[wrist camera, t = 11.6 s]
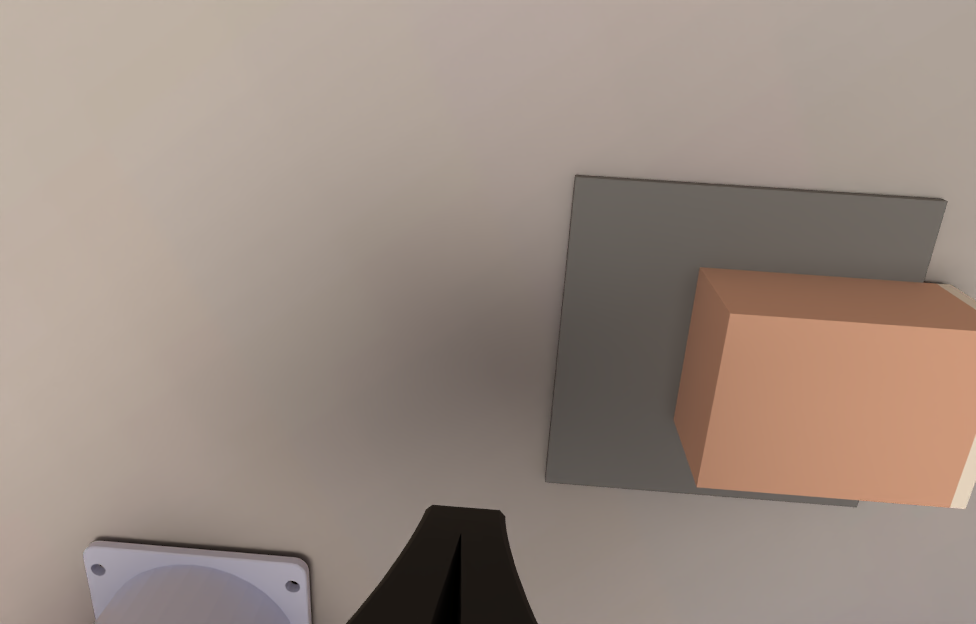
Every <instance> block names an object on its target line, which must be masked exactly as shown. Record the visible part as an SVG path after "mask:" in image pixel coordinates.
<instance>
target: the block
mask: <svg viewBox="0 0 976 624" xmlns="http://www.w3.org/2000/svg"><path fill="white" fill-rule="evenodd" d="M674 423H675V426H676V429H677V432H678V434H679V437H680V440H681V443H682V446H683V449H684V452H685V455H686V458H687V461H688V464H689V466H690V469H691V472H692V475H693V478H694V481H695V484H696V487H699V488H711V489H724V490H736V491H749V492H761V493H774V494H786V495H799V496H811V497H824V498H836V499H849V500H861V501H874V502H886V503H899V504H911V505H923V506H936V507H948V508H961V509H965V508H966V506H967V503H968V500H969V498H970V495H971V492H972V489H973V487H974V484H975V481H976V301H975V300H974V299H972V298H971V297H969V296H968V295H966V294H965V293H963V292H961V291H960V290H958V289H957V288H955V287H954V286H952V285H949V284H934V283H920V282H905V281H891V280H877V279H862V278H848V277H833V276H819V275H805V274H790V273H776V272H761V271H747V270H733V269H718V268H704V267H700V269H699V275H698V281H697V287H696V292H695V298H694V304H693V310H692V316H691V321H690V327H689V333H688V339H687V345H686V350H685V356H684V362H683V368H682V374H681V379H680V385H679V391H678V397H677V403H676V408H675V414H674Z"/></svg>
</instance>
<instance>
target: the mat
mask: <svg viewBox="0 0 976 624" xmlns="http://www.w3.org/2000/svg"><path fill="white" fill-rule="evenodd" d="M947 202H948V201H945V200H943V199H935V198H920V197H905V196H889V195H874V194H859V193H843V192H828V191H813V190H797V189H782V188H767V187H751V186H736V185H721V184H705V183H690V182H675V181H659V180H644V179H629V178H613V177H598V176H582V175H575V182H574V193H573V203H572V213H571V223H570V233H569V243H568V253H567V263H566V273H565V284H564V294H563V304H562V314H561V324H560V334H559V344H558V354H557V364H556V375H555V385H554V395H553V405H552V415H551V425H550V435H549V445H548V455H547V466H546V476H545V482H548V483H560V484H573V485H585V486H598V487H610V488H623V489H635V490H648V491H660V492H672V493H685V494H697V495H710V496H722V497H735V498H747V499H760V500H772V501H785V502H797V503H809V504H822V505H834V506H847V507H857V505H858V502H859V500H849V499H836V498H824V497H811V496H799V495H786V494H774V493H761V492H749V491H736V490H724V489H711V488H699V487H696V484H695V481H694V478H693V475H692V472H691V469H690V466H689V464H688V461H687V458H686V455H685V452H684V449H683V446H682V443H681V440H680V437H679V434H678V432H677V429H676V426H675V423H674V414H675V408H676V403H677V397H678V391H679V385H680V379H681V374H682V368H683V362H684V356H685V350H686V345H687V339H688V333H689V327H690V321H691V316H692V310H693V304H694V298H695V292H696V287H697V281H698V275H699V269H700V267H704V268H718V269H733V270H747V271H761V272H776V273H790V274H805V275H819V276H833V277H848V278H862V279H877V280H891V281H905V282H920V283H924V279H925V276H926V273H927V269H928V266H929V263H930V259H931V256H932V253H933V249H934V246H935V242H936V239H937V236H938V232H939V229H940V226H941V222H942V219H943V215H944V212H945V209H946V205H947Z"/></svg>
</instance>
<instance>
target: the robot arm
mask: <svg viewBox="0 0 976 624" xmlns="http://www.w3.org/2000/svg"><path fill="white" fill-rule="evenodd" d="M83 558H84V563H85V569H86V574H87V579H88V584H89V589H90V594H91V599H92V604H93V609H94V614H95V619H96V621H95V623H94V624H312V622H311V602H310V582H309V568H308V565H307V564H306V563H305V562H304V561H303V560H301V559H300V558H295V557H286V556H274V555H262V554H250V553H239V552H227V551H215V550H203V549H192V548H180V547H168V546H156V545H145V544H133V543H121V542H109V541H94V542H92V543H90V544H89V545H88V547H87V548H86V549H85V551H84V552H83ZM100 565H102V566H103V567H101V566H100ZM290 581H295V582H297V583H298V584H293V583H292V582H290ZM346 624H538V623H537V621H536V619H535V617H534V615H533V612H532V610H531V607H530V605H529V603H528V600H527V597H526V595H525V592H524V589H523V587H522V584H521V581H520V579H519V576H518V573H517V570H516V567H515V564H514V560H513V557H512V553H511V549H510V546H509V541H508V537H507V531H506V524H505V516H504V515H503V513H502V512H501V511H500V510H489V509H477V508H465V507H452V506H440V505H432V506H430V507H429V508H428V509H426V511H425V513H424V515H423V517H422V519H421V521H420V523H419V525H418V527H417V528H416V530H415V532H414V533H413V535H412V537H411V538H410V540H409V542H408V543H407V545H406V546H405V548H404V549H403V551H402V552H401V554H400V555H399V557H398V558H397V560H396V561H395V562H394V564H393V565H392V567H391V568H390V569H389V571H388V572H387V574H386V575H385V576H384V578H383V579H382V581H381V582H380V583H379V585H378V586H377V587H376V588H375V590H374V591H373V592H372V593H371V594H370V596H369V597H368V598H367V599H366V601H365V602H364V603H363V604H362V605H361V607H360V608H359V609H358V610H357V612H356V613H355V614H354V615H353V616H352V617H351V619H350V620H349V621H348V622H347V623H346Z"/></svg>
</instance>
